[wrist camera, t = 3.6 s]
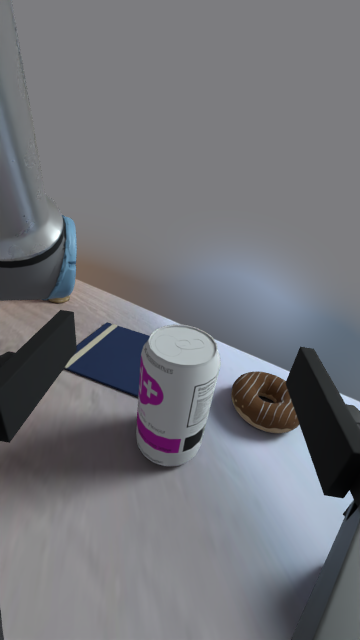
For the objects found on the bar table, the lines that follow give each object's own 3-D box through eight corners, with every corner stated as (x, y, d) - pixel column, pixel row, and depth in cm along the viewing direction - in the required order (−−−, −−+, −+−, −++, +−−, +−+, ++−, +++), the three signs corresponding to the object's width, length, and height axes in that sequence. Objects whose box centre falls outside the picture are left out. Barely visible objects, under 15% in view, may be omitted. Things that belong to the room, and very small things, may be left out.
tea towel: (53, 364, 44) (53, 362, 44) (106, 323, 57) (106, 322, 57) (167, 408, 39) (167, 406, 39) (198, 353, 52) (198, 351, 52)
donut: (216, 390, 44) (221, 371, 42) (269, 379, 48) (275, 361, 46) (255, 449, 35) (263, 428, 33) (315, 429, 39) (326, 409, 37)
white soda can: (141, 476, 31) (151, 373, 23) (132, 417, 37) (137, 323, 30) (209, 463, 33) (237, 365, 26) (188, 409, 40) (206, 320, 32)
